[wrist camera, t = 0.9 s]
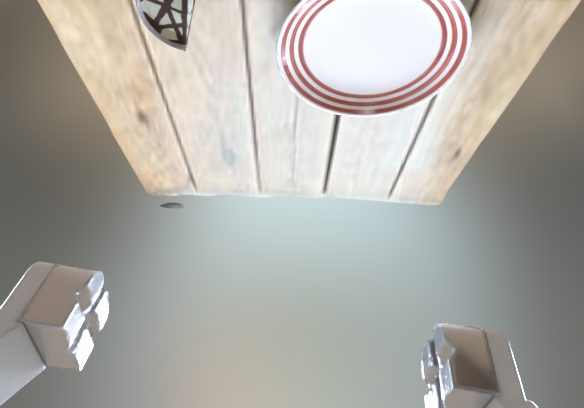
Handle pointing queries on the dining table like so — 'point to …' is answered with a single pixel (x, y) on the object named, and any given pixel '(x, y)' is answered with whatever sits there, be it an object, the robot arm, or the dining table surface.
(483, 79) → the dining table surface
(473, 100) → the dining table surface
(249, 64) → the dining table surface
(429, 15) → the dinner plate
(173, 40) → the food container
